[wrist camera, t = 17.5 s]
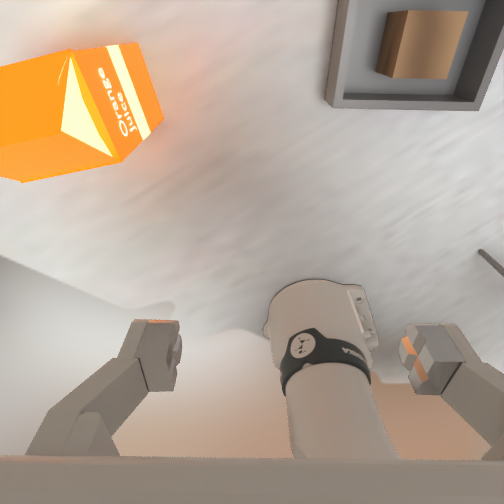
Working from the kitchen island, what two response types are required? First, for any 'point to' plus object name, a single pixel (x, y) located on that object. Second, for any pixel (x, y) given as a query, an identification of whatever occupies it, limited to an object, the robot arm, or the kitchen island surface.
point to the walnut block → (420, 43)
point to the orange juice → (74, 111)
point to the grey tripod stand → (492, 262)
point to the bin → (405, 89)
